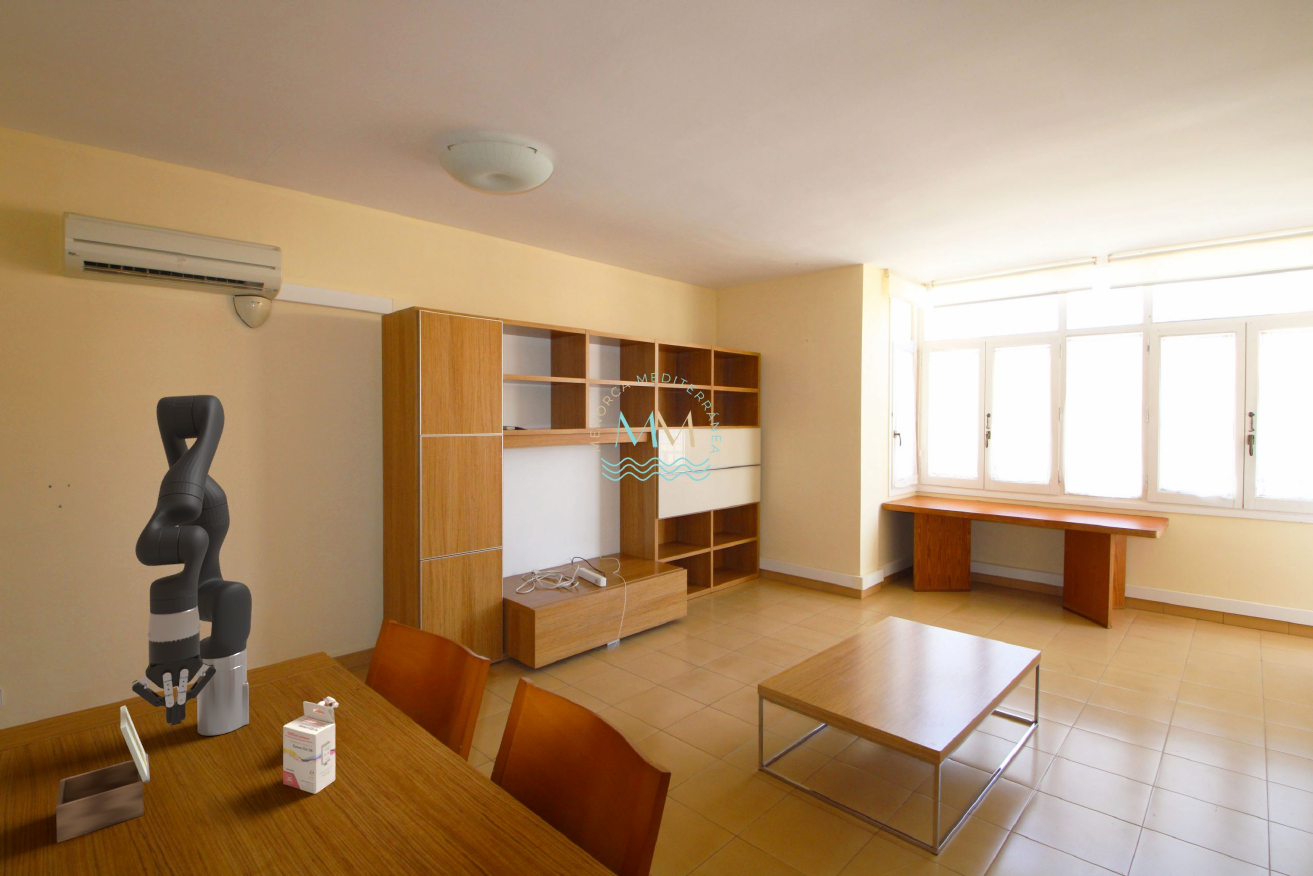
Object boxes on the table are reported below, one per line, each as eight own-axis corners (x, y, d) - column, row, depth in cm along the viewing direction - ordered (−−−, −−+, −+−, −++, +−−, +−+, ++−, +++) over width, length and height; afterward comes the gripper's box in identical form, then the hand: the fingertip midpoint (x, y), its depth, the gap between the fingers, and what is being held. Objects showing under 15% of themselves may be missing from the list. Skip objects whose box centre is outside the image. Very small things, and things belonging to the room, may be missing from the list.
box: (142, 788, 116) (141, 757, 116) (143, 815, 108) (143, 782, 108) (61, 812, 109) (60, 779, 108) (57, 843, 101) (56, 807, 101)
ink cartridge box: (281, 785, 118) (280, 710, 117) (303, 771, 122) (303, 699, 122) (315, 795, 115) (314, 718, 114) (336, 780, 120) (336, 707, 119)
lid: (142, 759, 116) (148, 756, 116) (143, 784, 108) (150, 781, 109) (120, 707, 113) (126, 704, 114) (120, 728, 106) (127, 725, 106)
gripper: (215, 619, 121) (216, 705, 122) (127, 634, 113) (129, 726, 113) (220, 630, 116) (221, 720, 116) (128, 647, 107) (129, 743, 108)
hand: (175, 723), depth 115 cm, fingers closed
